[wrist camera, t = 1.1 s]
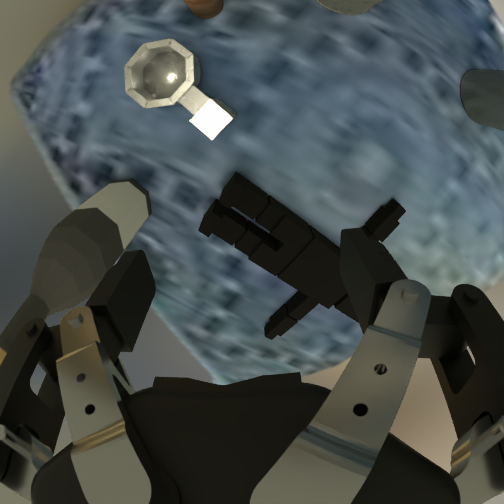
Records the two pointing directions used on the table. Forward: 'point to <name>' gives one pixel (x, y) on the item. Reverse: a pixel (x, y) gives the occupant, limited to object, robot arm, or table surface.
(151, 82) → the mug
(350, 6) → the speckled stone cylinder
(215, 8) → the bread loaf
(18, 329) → the wine bottle
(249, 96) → the table surface
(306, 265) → the toy
